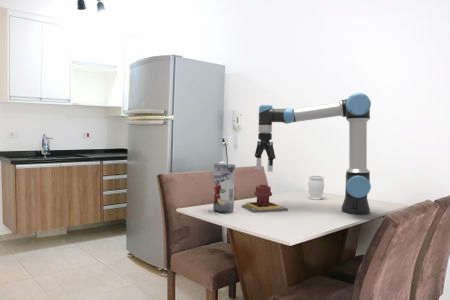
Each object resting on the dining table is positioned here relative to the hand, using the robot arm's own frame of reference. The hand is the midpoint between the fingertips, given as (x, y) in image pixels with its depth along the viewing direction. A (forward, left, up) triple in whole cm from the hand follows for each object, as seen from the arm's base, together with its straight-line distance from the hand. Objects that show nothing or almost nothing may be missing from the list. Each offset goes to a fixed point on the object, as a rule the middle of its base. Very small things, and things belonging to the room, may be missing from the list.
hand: (264, 170), depth 209 cm
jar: (+22, -51, -22) cm, 60 cm away
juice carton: (-1, +25, -22) cm, 33 cm away
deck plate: (0, -1, -22) cm, 22 cm away
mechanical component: (0, 0, -21) cm, 21 cm away
